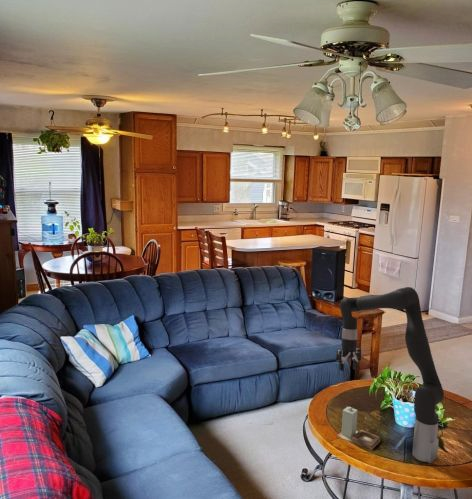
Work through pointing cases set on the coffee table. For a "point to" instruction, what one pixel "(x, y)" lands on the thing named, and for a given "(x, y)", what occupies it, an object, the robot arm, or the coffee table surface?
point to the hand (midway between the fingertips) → (348, 370)
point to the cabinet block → (349, 422)
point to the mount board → (363, 439)
